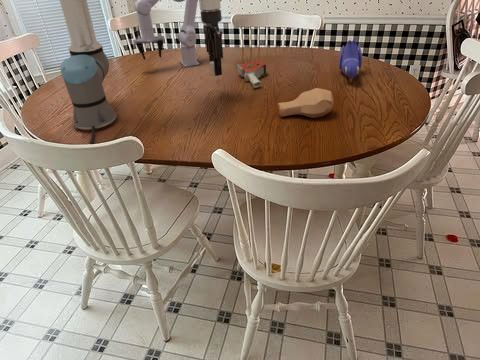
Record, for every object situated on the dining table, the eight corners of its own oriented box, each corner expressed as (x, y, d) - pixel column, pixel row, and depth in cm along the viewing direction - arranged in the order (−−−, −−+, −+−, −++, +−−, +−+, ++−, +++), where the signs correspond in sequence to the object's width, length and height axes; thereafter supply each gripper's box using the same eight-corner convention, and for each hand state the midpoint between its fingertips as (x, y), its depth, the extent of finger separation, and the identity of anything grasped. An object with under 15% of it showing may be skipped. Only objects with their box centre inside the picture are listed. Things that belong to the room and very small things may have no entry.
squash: (337, 118, 126) (338, 97, 119) (281, 128, 127) (279, 108, 121) (330, 101, 133) (330, 80, 127) (277, 111, 135) (275, 90, 128)
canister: (222, 72, 143) (221, 61, 140) (218, 76, 140) (217, 64, 137) (213, 71, 144) (212, 60, 142) (209, 75, 141) (207, 63, 138)
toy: (337, 76, 168) (339, 86, 146) (339, 39, 162) (341, 42, 139) (359, 76, 166) (364, 85, 144) (361, 37, 159) (367, 41, 137)
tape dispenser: (257, 93, 151) (279, 75, 164) (257, 81, 148) (279, 63, 160) (223, 84, 159) (246, 67, 171) (222, 73, 155) (246, 57, 168)
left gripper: (229, 12, 123) (233, 78, 137) (211, 4, 136) (217, 65, 150) (209, 15, 121) (215, 81, 135) (193, 7, 134) (200, 68, 147)
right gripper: (131, 32, 160) (138, 62, 168) (163, 28, 163) (168, 58, 171) (130, 29, 165) (136, 58, 173) (161, 25, 169) (166, 54, 177)
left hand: (216, 73), depth 142 cm, fingers closed on canister, 4 cm apart
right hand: (152, 58), depth 173 cm, fingers open, 7 cm apart
